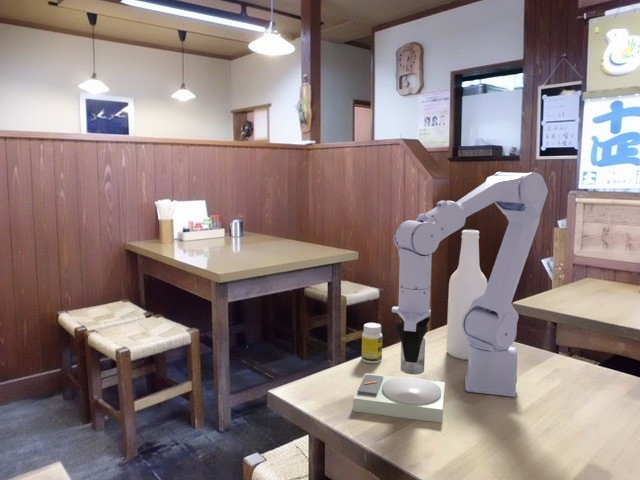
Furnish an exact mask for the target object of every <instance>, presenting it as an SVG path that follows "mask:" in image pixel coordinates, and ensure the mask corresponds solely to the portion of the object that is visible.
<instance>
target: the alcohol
mask: <svg viewBox="0 0 640 480" xmlns="http://www.w3.org/2000/svg"><path fill="white" fill-rule="evenodd" d="M479 234H480V231H479V230H476V229H464V230H462V231H461V236H460V238H461V245H460V253H459V259H458V265H457V269H455V271H454V272H453V273H452V274H451V276H450V278H449V282H448V299H447V300H448V302H447V321H446V322H447V325H446V345H445V346H446V352H447V353H448V355H449V356H451V357H453V358H455V359H459V360H462V361H464V360H465V361H468V359H469V341H467V335H466V334H465V333H464V331H463V329H462V320H463V317H464V315H465V313H466V312H467V311H468V310H469V308H470V307H471V304H472V301H473V300H475V299H476V298H478V297H480V296H482V295H483V294H484V293H485V290H486V287H487V284H488V279H487V278H486V276H485V274H484V273H483V272H482V270H481V266H480V247H479V246H480V243H479V239H480V235H479Z"/></svg>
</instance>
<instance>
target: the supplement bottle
mask: <svg viewBox="0 0 640 480" xmlns="http://www.w3.org/2000/svg"><path fill="white" fill-rule="evenodd" d="M361 360H362V361H363V363H367V364H378V363H381V362H382V360H383V334H382V325H381V324H380V323H376V322H367V323H364V325H363V332H362V333H361Z"/></svg>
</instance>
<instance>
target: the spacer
mask: <svg viewBox="0 0 640 480" xmlns="http://www.w3.org/2000/svg"><path fill="white" fill-rule="evenodd" d="M425 353H426V339H425V338H424V337H423V340H422V342H421V346H420V352H419V357H418V360H417V363H412V362H405V358H404V353H403V347H402V342H401V341H400V371H401V372H402V373H404V374H407V375H411V376H412V375H421V374H423V373H425V357H426V356H425Z"/></svg>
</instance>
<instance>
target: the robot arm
mask: <svg viewBox="0 0 640 480" xmlns="http://www.w3.org/2000/svg"><path fill="white" fill-rule="evenodd" d="M548 193H549V190H548V187H547V184H546V182H545V179H544V176H542V175H541V174H540V173H538V172H505V171H498V172H496V173H494V174H493V175H490V176H487V178H486V179H485V181H484V182H483V183H481V184H480V185H479V186H478V187H476V188H474V189H473V190H471V191H470V192H468V193H467V194H466V195H464V196H463V197H461V198H460V199H458V200H457V201H452V200H440V201H438V202H436V207H434V208H432V209H430V210H429V211H426V212H425V213H420V214H418V215H417V218H416V219H415V220H411V219H410V220H409V219H408V220H405V221H403V222H402V223H400V225H399V226H398V228H397V229H396V232H395V234H394V235H393V237H392V238H393V241H394V242H393V243H394V245H395V247H396V248H397V249H398V257H399V266H398V268H399V270H398V271H399V272H398V306H395V305H394V306H392V307H391V313H394V314H398V316H399V319H400V320H401V322H396V324H395V330H396V333H397V334H398V336H399V339H400V343H401V342H402V347H403V353H404V358H405V362H412V363H417V360H418V357H419V352H420V346H421V342H422V340H423V338H424V337H425V335H426V334H427V332H428V329H429V326H427V325H428V323H429V322H430V320H431V312H432V310H431V285H432V283H431V281H432V277H431V276H432V253H434V252H436V250H437V249H438V247H439V245H440V242H441V241H443V240H444V239H445V238H447V237H449V236H450V235H451V234H454V233H455V232H457V231H459V230H461V228H463V227H464V226H465V224H466V220H467V219H466V218H467V217H469V216H471V215H473V214H474V213H477V212H479V211H481V210H483V209H484V208H487V207H488V206H490V205H492V204H495V206H496V207H497V208H498V209H499V211H501V213H502V214H503V215H504V216H506V219H507V221H508V225H507V227H506V230H505V233H504V234H503V235H504V236H503V239H502V242H501V244H500V247H499V250H498V253H497V255H496V258H495V261H494V265H493V267H492V270H491V273H490V277H489V279H488V281H487V287H486V290H485V293H484V294H483V295H482V296H480V297H478V298H476V299H475V300H473V301H472V304H471V307H470V308H469V310H468V311H467V312H466V313H465V315H464V317H463V320H462V329H463V331H464V333H465V334H466V335H467V341H469V359H468V360H467V361H468V363H467V374H464V375H465V378H464V379H465V380H464V382H465V384H464V385H465V388H464V389H465V391H466V392H470V393H475V394H476V393H477V394H486V395H493V396H504V397H511V398H515V397H516V395H517V393H516V390H517V389H516V388H517V382H518V374H517V373H518V350H517V347H515V346H512V345H513V343H514V342H515V340H516V338H517V332H518V331H517V327H518V325H517V324H518V321H519V318H520V317H519V314H518V312H517V311H516V310H515V307H514V306H513V304H512V302H513V298H514V296H515V293H516V290H517V288H518V286H519V285H518V284H519V282H520V279H521V276H522V273H523V271H524V267H525V264H526V261H527V259H528V257H529V253H530V249H531V247H532V244H533V241H534V238H535V236H536V233H537V230H538V227H539V224H540V220H541V213H542V211H543V208H544V205H545V202H546V199H547V195H548ZM493 312H495V313H496V314H495V313H493Z"/></svg>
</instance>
